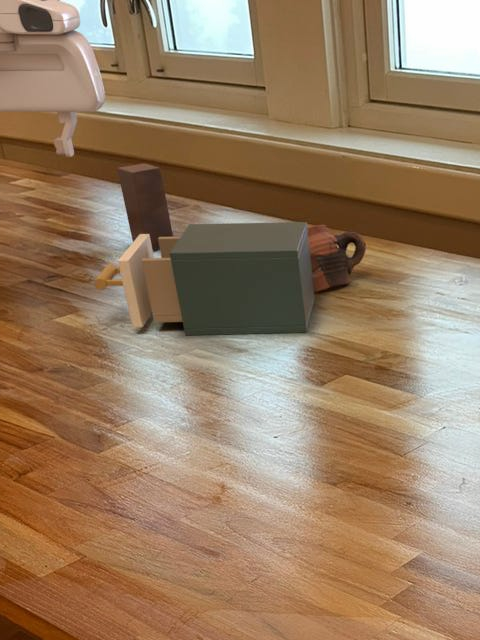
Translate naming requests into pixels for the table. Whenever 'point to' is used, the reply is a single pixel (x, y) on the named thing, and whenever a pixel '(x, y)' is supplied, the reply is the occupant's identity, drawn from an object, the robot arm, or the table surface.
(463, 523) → the table surface
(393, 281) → the table surface
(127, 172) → the block
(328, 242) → the pottery mug
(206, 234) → the cabinet
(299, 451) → the table surface
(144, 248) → the drawer
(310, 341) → the table surface
